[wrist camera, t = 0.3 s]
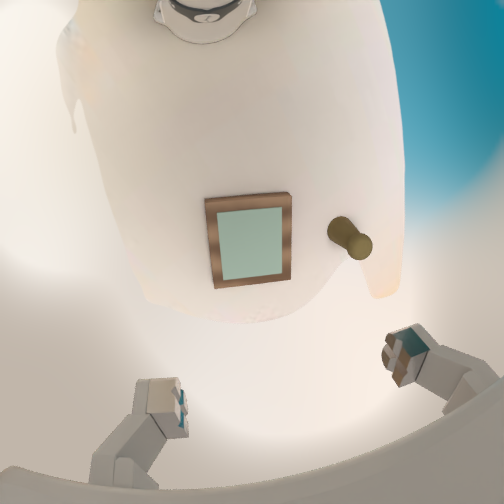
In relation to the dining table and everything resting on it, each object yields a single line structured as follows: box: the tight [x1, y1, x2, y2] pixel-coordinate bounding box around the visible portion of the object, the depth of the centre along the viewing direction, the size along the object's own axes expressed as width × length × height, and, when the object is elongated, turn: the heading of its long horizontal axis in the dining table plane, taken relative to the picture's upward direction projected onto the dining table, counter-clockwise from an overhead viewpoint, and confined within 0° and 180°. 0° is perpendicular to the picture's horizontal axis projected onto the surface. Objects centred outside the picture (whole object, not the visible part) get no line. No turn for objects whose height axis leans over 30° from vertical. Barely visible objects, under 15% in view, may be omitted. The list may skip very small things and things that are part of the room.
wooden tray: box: [205, 192, 292, 289], centre depth 58 cm, size 18×16×3 cm
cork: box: [327, 216, 372, 260], centre depth 57 cm, size 6×6×11 cm
